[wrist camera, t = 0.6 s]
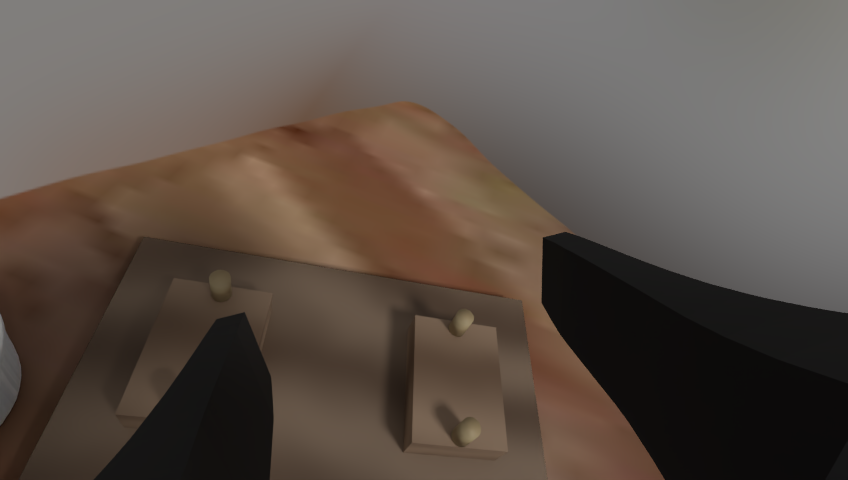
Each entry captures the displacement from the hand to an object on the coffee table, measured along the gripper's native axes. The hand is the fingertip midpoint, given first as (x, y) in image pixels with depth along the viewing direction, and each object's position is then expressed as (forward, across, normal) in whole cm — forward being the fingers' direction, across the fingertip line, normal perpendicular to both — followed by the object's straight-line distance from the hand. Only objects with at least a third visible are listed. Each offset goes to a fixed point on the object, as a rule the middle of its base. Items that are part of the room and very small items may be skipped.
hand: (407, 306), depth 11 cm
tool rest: (+11, +4, +13) cm, 17 cm away
